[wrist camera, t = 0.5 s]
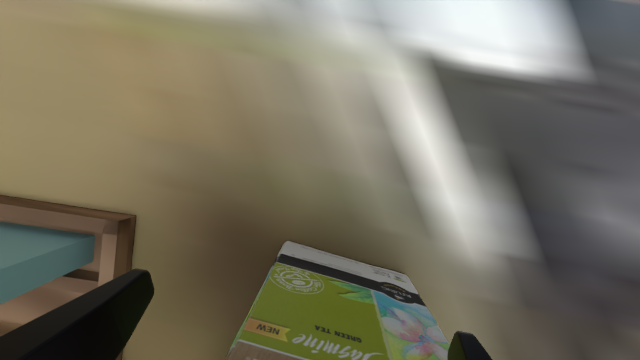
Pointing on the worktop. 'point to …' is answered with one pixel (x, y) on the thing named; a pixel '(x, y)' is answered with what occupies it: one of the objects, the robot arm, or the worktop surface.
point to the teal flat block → (38, 256)
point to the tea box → (336, 313)
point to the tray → (107, 265)
